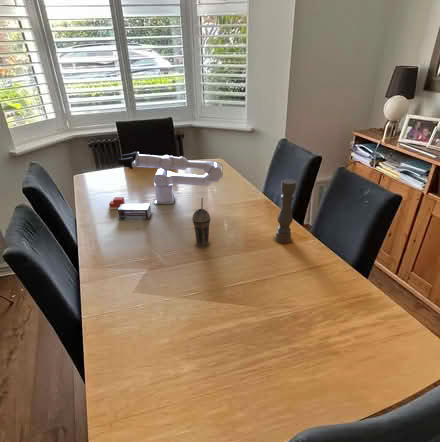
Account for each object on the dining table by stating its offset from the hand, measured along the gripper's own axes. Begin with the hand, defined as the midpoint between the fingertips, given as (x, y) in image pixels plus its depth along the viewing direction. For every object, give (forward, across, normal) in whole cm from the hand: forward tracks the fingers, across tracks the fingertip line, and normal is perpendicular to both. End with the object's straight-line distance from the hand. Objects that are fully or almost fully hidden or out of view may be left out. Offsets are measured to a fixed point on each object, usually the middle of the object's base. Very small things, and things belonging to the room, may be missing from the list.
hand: (120, 159), depth 177 cm
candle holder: (-78, +43, +16) cm, 91 cm away
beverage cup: (-44, +48, +19) cm, 68 cm away
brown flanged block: (-10, +19, +21) cm, 30 cm away
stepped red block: (+1, +9, +22) cm, 24 cm away
